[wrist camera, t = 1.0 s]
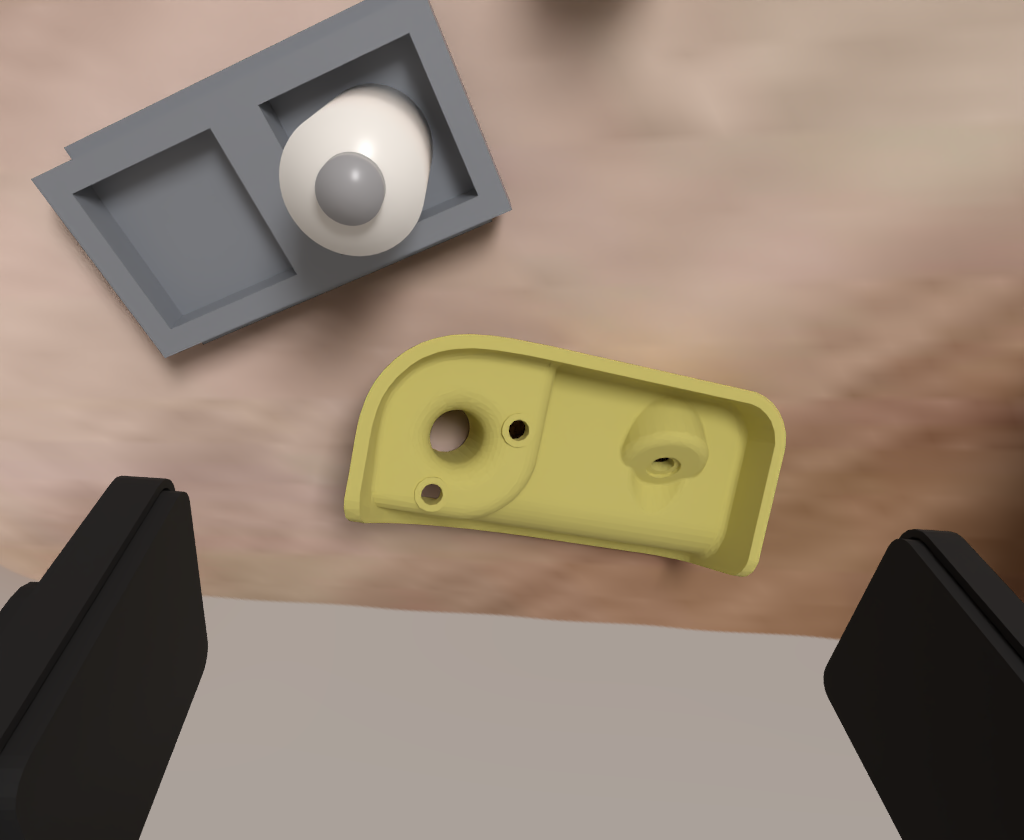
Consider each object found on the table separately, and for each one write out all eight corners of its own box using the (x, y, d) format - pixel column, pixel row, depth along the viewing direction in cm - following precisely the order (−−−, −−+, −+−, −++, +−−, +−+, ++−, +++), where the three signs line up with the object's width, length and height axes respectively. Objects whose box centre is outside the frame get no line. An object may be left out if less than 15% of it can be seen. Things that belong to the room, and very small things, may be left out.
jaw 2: (401, 63, 26) (380, 85, 19) (451, 176, 28) (447, 231, 22) (297, 112, 27) (243, 150, 20) (354, 219, 29) (321, 285, 22)
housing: (420, -26, 26) (416, -28, 23) (512, 205, 30) (516, 221, 28) (55, 153, 28) (21, 166, 26) (191, 343, 32) (172, 367, 30)
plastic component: (796, 400, 33) (748, 603, 34) (714, 389, 40) (676, 557, 41) (380, 307, 28) (333, 548, 29) (370, 313, 35) (333, 506, 36)
